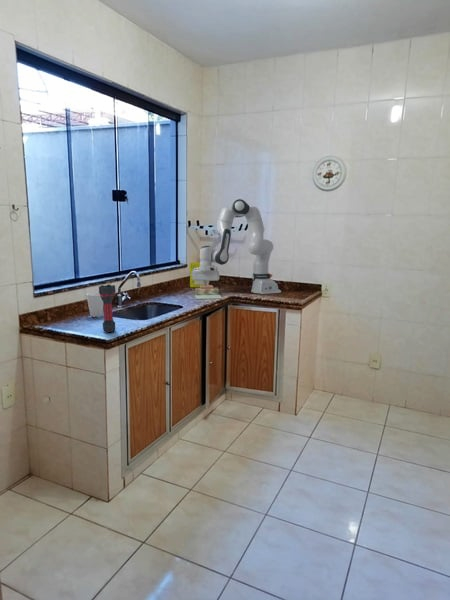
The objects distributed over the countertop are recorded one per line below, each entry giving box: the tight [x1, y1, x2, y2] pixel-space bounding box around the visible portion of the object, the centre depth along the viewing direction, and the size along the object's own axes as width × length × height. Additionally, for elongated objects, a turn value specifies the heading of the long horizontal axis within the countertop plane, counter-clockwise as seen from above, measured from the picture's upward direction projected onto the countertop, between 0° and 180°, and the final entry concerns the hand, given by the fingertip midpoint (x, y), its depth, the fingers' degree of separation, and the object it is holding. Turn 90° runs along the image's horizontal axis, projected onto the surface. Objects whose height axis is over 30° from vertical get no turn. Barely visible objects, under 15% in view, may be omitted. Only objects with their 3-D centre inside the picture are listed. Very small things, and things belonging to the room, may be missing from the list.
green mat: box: [194, 294, 223, 300], centre depth 290 cm, size 18×13×1 cm
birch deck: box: [194, 287, 220, 295], centre depth 301 cm, size 16×10×4 cm, turn 98°
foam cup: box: [86, 292, 104, 317], centre depth 231 cm, size 10×9×13 cm
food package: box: [189, 262, 210, 288], centre depth 332 cm, size 15×1×20 cm, turn 84°
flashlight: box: [98, 284, 116, 333], centre depth 198 cm, size 8×8×23 cm
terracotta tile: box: [199, 284, 214, 290], centre depth 302 cm, size 9×6×2 cm, turn 98°
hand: (206, 286), depth 307 cm, fingers closed
